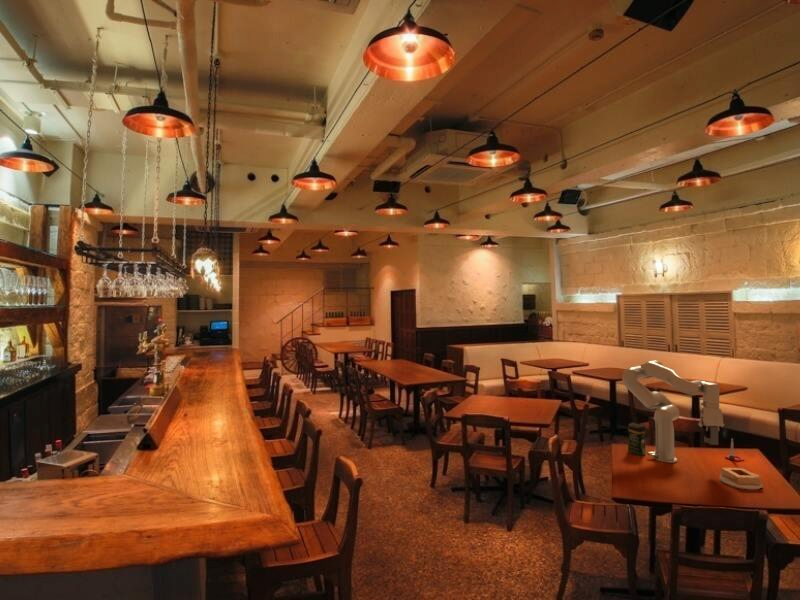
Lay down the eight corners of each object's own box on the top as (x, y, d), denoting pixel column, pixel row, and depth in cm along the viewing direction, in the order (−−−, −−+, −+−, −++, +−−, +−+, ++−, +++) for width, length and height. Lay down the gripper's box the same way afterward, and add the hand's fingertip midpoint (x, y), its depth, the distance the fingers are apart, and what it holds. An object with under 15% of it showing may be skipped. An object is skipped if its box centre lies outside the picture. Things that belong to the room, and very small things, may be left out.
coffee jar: (625, 452, 286) (625, 422, 286) (633, 450, 290) (633, 421, 290) (640, 456, 278) (639, 426, 278) (648, 454, 281) (647, 424, 281)
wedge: (710, 444, 251) (710, 426, 251) (704, 441, 257) (704, 423, 257) (718, 444, 251) (718, 426, 251) (711, 441, 257) (711, 423, 257)
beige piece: (734, 490, 230) (734, 479, 230) (711, 475, 248) (711, 465, 248) (771, 490, 229) (771, 479, 229) (745, 476, 247) (745, 466, 247)
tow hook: (730, 456, 279) (723, 458, 274) (731, 435, 279) (723, 436, 274) (746, 460, 272) (739, 462, 267) (747, 438, 272) (739, 440, 267)
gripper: (699, 406, 251) (699, 439, 251) (731, 406, 250) (731, 439, 250) (691, 403, 258) (691, 435, 258) (722, 403, 257) (722, 435, 257)
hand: (711, 437), depth 254 cm, fingers closed on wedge, 4 cm apart
